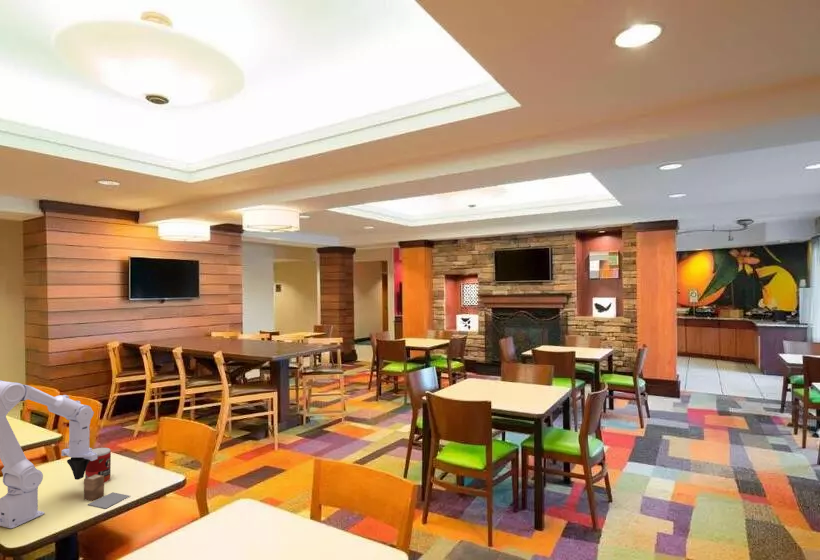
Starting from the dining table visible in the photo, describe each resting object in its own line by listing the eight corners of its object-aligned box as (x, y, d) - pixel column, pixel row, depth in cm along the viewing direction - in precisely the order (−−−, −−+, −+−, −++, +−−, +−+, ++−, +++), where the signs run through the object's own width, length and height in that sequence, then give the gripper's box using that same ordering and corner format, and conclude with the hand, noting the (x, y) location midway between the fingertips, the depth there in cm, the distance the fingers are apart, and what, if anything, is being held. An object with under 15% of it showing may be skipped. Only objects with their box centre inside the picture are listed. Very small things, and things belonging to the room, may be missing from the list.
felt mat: (105, 509, 150) (105, 508, 150) (87, 505, 152) (87, 504, 152) (130, 496, 158) (130, 495, 158) (112, 493, 161) (112, 492, 161)
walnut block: (92, 501, 155) (92, 480, 155) (83, 499, 156) (84, 478, 156) (103, 496, 159) (103, 475, 159) (95, 494, 160) (95, 473, 160)
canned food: (101, 485, 167) (101, 455, 167) (79, 485, 167) (79, 455, 167) (115, 476, 174) (115, 447, 174) (94, 476, 174) (94, 447, 174)
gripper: (105, 437, 161) (105, 476, 161) (75, 433, 166) (75, 470, 166) (86, 444, 155) (85, 485, 155) (55, 439, 159) (55, 478, 159)
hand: (79, 478), depth 160 cm, fingers closed
